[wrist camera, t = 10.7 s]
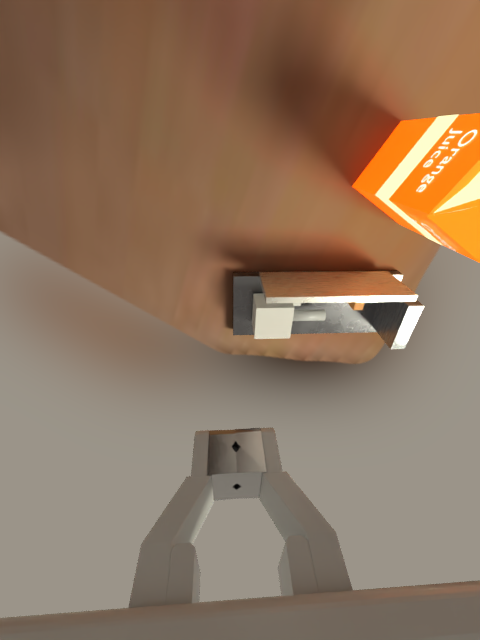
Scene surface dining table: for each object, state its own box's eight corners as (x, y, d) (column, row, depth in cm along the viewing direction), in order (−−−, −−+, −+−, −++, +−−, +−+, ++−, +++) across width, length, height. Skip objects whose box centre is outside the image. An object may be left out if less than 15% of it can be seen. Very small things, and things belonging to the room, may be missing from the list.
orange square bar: (339, 291, 38) (353, 310, 34) (341, 284, 38) (355, 302, 34) (347, 291, 39) (362, 310, 34) (349, 284, 38) (365, 301, 34)
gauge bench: (233, 329, 43) (235, 366, 36) (233, 268, 37) (235, 297, 30) (376, 326, 45) (405, 361, 38) (399, 266, 39) (438, 295, 32)
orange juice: (401, 119, 29) (640, 93, 12) (449, 167, 32) (694, 198, 15) (350, 187, 33) (483, 238, 16) (398, 225, 36) (552, 301, 19)
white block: (251, 322, 41) (254, 339, 37) (253, 283, 37) (256, 297, 34) (316, 321, 41) (324, 337, 38) (324, 282, 38) (334, 296, 34)
